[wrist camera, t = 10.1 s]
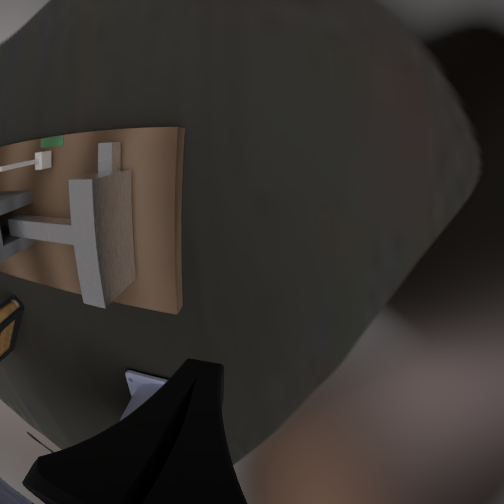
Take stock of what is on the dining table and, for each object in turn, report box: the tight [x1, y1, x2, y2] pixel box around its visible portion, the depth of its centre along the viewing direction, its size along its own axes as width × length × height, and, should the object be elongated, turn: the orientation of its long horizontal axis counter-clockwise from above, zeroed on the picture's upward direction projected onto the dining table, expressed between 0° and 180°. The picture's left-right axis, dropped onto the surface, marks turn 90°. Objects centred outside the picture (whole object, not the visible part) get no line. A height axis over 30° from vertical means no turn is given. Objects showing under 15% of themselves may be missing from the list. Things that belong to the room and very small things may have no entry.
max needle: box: [0, 151, 51, 172], centre depth 14 cm, size 1×1×5 cm
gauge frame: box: [0, 127, 185, 314], centre depth 16 cm, size 24×12×6 cm, turn 86°
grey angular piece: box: [8, 142, 136, 309], centre depth 15 cm, size 10×9×4 cm
